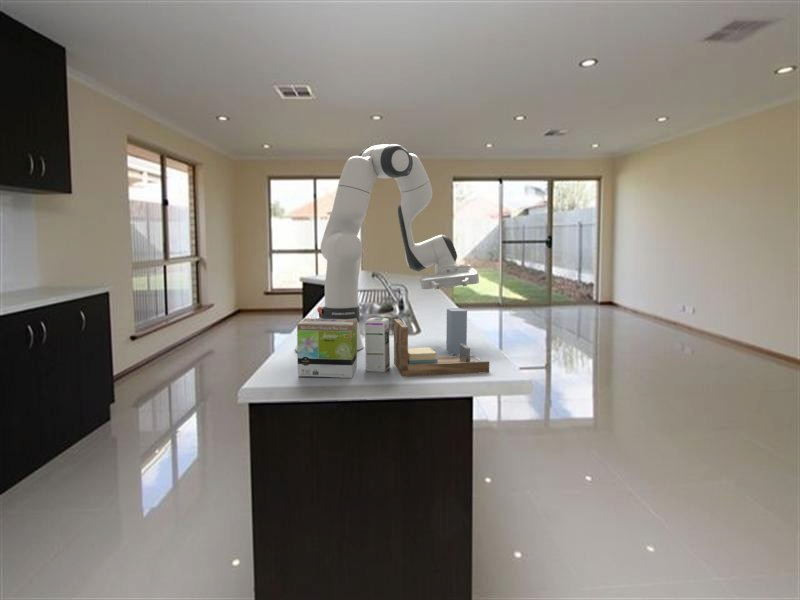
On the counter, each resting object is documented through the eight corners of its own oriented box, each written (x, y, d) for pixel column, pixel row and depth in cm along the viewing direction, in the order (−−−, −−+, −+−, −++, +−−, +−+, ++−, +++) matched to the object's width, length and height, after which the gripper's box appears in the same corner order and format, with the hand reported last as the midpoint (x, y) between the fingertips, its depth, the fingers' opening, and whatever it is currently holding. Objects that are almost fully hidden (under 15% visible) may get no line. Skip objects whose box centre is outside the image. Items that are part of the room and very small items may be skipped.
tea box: (297, 378, 143) (295, 323, 141) (305, 368, 153) (304, 317, 151) (353, 378, 142) (352, 323, 141) (357, 369, 152) (357, 317, 151)
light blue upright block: (451, 354, 170) (451, 311, 169) (446, 350, 176) (446, 308, 174) (466, 354, 171) (467, 310, 169) (461, 350, 177) (461, 308, 175)
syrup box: (385, 372, 149) (385, 320, 147) (365, 371, 150) (364, 320, 148) (390, 367, 154) (389, 317, 153) (370, 366, 156) (369, 316, 154)
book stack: (403, 361, 155) (403, 347, 155) (430, 360, 156) (430, 346, 156) (409, 368, 147) (409, 354, 147) (437, 367, 148) (437, 352, 148)
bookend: (459, 360, 156) (459, 343, 155) (477, 360, 157) (477, 343, 156) (465, 365, 150) (466, 348, 149) (484, 364, 151) (484, 347, 150)
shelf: (393, 364, 158) (393, 318, 156) (473, 360, 162) (474, 316, 161) (402, 376, 144) (402, 327, 143) (489, 372, 149) (490, 324, 147)
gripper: (418, 270, 193) (419, 279, 180) (475, 264, 192) (480, 273, 179) (420, 287, 195) (421, 297, 182) (476, 281, 194) (481, 291, 181)
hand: (450, 285), depth 181 cm, fingers open, 8 cm apart
